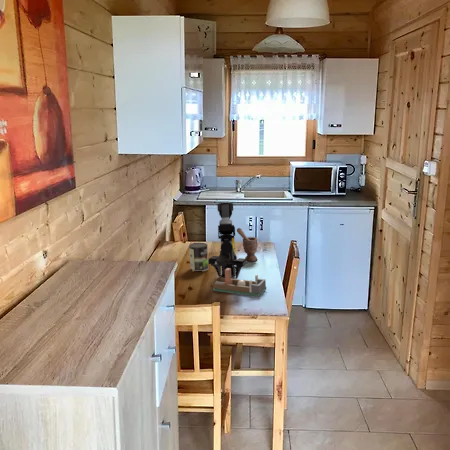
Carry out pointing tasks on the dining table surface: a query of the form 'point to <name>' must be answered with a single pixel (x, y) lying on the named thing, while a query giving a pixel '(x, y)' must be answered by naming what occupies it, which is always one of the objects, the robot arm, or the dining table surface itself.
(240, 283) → the ball
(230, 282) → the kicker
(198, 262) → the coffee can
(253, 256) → the mortar and pestle
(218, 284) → the pitch
